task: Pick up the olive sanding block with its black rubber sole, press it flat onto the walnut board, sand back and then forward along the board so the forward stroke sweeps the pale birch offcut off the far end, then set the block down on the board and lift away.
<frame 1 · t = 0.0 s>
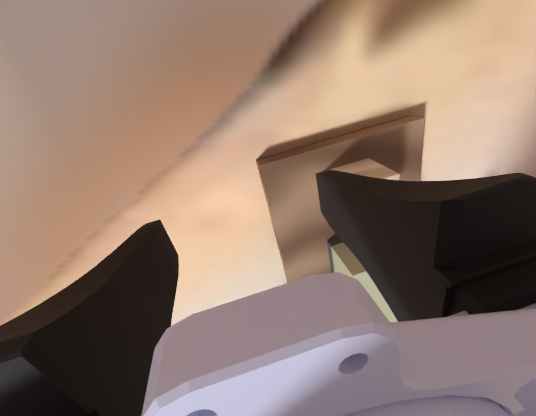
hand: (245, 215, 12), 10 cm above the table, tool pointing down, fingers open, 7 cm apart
sanding block: (353, 263, 27), point 1 cm above the table, touching walnut board
birch offcut: (347, 186, 22), point 1 cm above the table, touching walnut board
walnut board: (343, 224, 26), on the table
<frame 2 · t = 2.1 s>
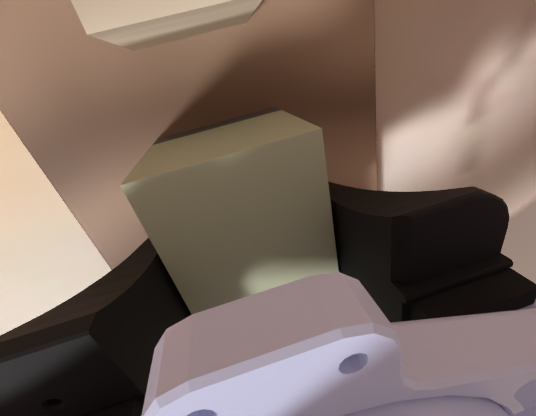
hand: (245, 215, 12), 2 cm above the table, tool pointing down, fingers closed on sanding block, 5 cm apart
sanding block: (243, 206, 12), point 1 cm above the table, touching gripper, walnut board
walnut board: (216, 117, 12), on the table
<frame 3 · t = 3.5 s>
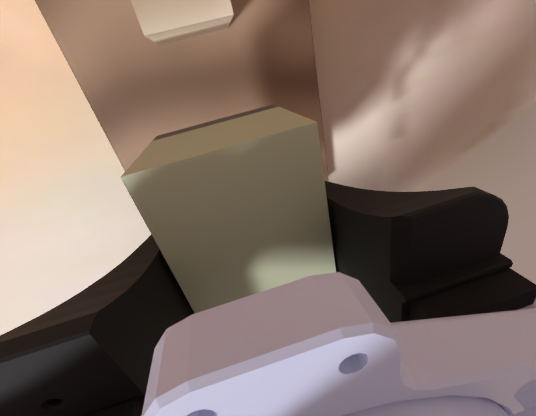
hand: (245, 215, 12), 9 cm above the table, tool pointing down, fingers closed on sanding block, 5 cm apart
sanding block: (241, 202, 13), point 8 cm above the table, touching gripper
walnut board: (210, 91, 18), on the table
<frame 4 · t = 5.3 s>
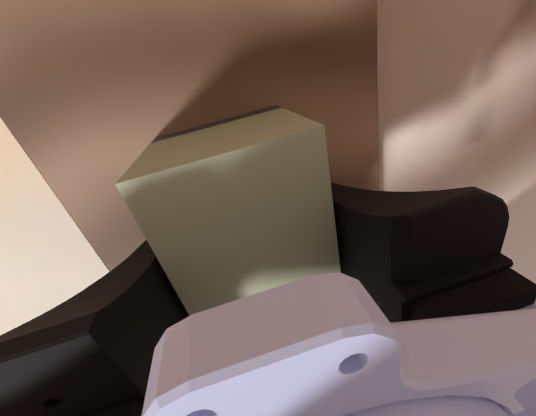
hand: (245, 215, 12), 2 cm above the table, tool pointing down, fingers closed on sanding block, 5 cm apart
sanding block: (242, 206, 12), point 1 cm above the table, touching gripper, walnut board
walnut board: (200, 70, 11), on the table
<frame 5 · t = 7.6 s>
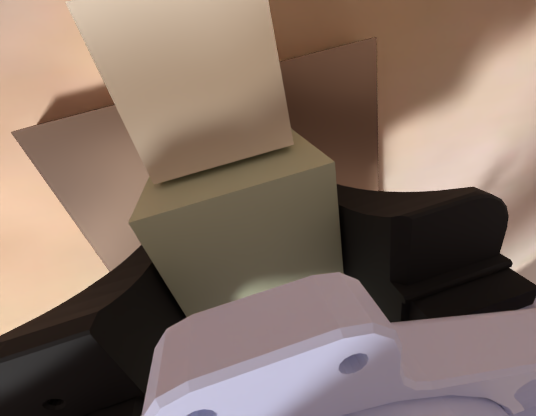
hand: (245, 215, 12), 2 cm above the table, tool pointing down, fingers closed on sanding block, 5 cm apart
sanding block: (246, 218, 12), point 2 cm above the table, touching birch offcut, gripper
birch offcut: (202, 82, 10), point 1 cm above the table, touching sanding block, walnut board
walnut board: (255, 245, 15), on the table
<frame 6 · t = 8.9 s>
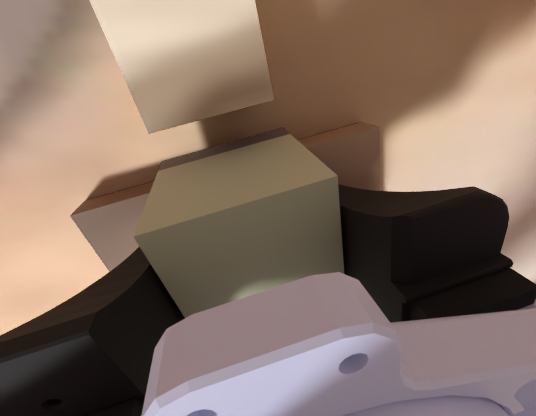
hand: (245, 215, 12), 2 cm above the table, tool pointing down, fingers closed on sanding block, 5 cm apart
sanding block: (248, 223, 12), point 2 cm above the table, touching gripper
birch offcut: (211, 109, 10), point 2 cm above the table, tilted 90°
walnut board: (268, 287, 17), on the table
when the fingers open (2 cm above the table, at t = 11.8 s): sanding block stays where it is, resting on walnut board.
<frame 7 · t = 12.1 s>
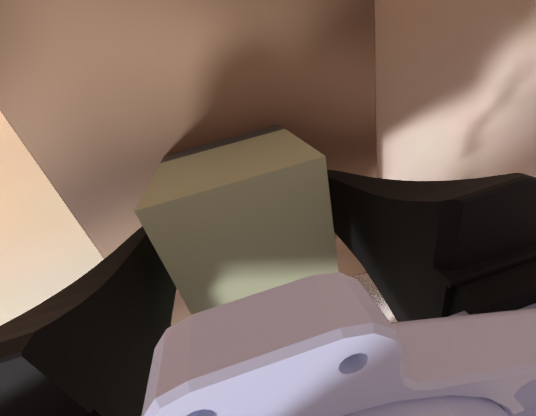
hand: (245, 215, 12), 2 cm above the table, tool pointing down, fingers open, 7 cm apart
sanding block: (246, 218, 13), point 1 cm above the table, touching walnut board
walnut board: (228, 158, 13), on the table
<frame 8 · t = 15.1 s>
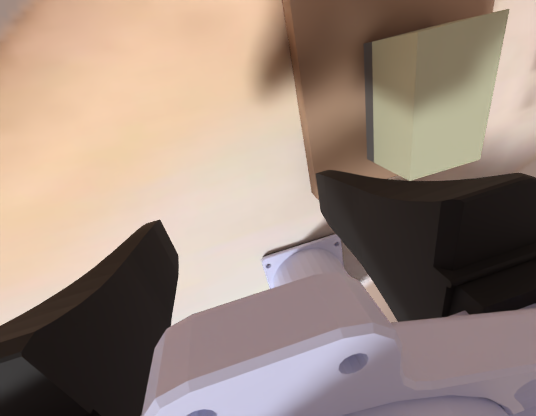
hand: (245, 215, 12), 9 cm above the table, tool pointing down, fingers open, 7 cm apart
sanding block: (396, 98, 19), point 1 cm above the table, touching walnut board
walnut board: (384, 58, 19), on the table
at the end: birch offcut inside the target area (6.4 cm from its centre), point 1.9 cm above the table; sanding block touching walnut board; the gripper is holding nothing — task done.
